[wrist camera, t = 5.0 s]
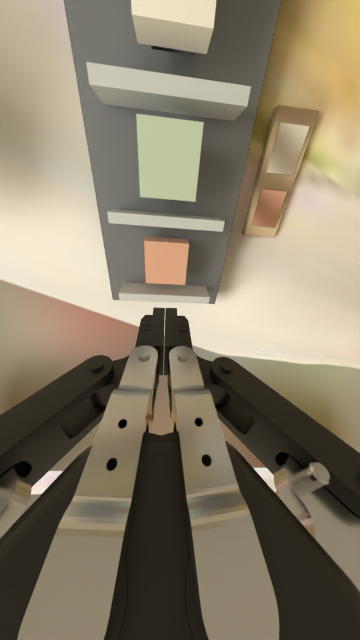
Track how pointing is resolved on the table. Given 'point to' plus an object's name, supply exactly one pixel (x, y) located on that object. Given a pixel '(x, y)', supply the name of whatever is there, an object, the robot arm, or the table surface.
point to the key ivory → (174, 23)
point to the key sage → (168, 157)
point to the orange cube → (166, 260)
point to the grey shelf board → (171, 102)
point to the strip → (278, 168)
